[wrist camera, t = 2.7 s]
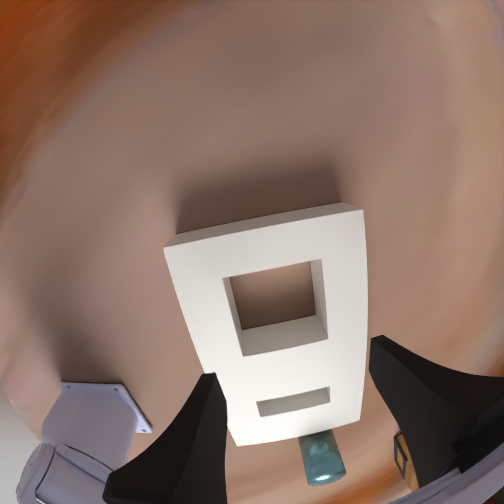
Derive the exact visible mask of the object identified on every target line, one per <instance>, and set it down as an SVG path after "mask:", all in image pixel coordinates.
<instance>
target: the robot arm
mask: <svg viewBox="0 0 504 504" xmlns="http://www.w3.org/2000/svg"><path fill="white" fill-rule="evenodd" d="M369 372H370V374H371V377H372V379H373V381H374V384H375V386H376V388H377V390H378V391H379V393H380V395H381V396H382V398H383V400H384V401H385V403H386V404H387V406H388V408H389V409H390V411H391V413H392V414H393V416H394V418H395V420H396V421H397V423H398V425H399V428H400V430H401V432H402V435H403V437H404V440H405V442H406V445H407V448H408V451H409V453H410V456H411V460H412V463H413V466H414V470H415V473H416V477H417V482H418V486H419V489H418V490H416V491H414V492H412V493H410V494H408V495H406V496H403V497H401V498H399V499H397V500H394V501H392V502H389V503H387V504H482V503H484V502H485V501H486V500H487V499H489V498H490V497H491V496H492V495H494V494H495V493H496V492H497V491H498V490H500V489H501V488H502V487H503V486H504V377H488V376H480V375H473V374H468V373H464V372H460V371H456V370H452V369H449V368H447V367H444V366H441V365H438V364H436V363H433V362H431V361H429V360H427V359H425V358H423V357H421V356H419V355H417V354H415V353H413V352H411V351H409V350H408V349H406V348H404V347H402V346H401V345H399V344H397V343H396V342H394V341H392V340H391V339H389V338H387V337H385V336H384V335H380V336H377V337H374V338H371V346H370V360H369ZM60 387H61V388H62V390H63V391H62V393H61V394H60V396H59V397H58V399H57V400H56V402H55V404H54V405H53V407H52V409H51V410H50V412H49V413H48V415H47V417H46V418H45V420H44V422H43V425H42V440H43V443H42V444H39V445H38V446H37V447H36V449H35V450H34V451H33V453H32V454H31V456H30V458H29V459H28V461H27V463H26V465H25V467H24V469H23V472H22V475H21V478H20V482H19V484H18V486H17V489H16V494H17V501H18V503H19V504H41V503H40V502H38V501H37V500H36V498H38V499H39V500H41V501H42V502H44V503H46V504H227V494H226V482H225V448H226V436H227V422H228V417H227V401H226V398H225V396H224V393H223V391H222V388H221V386H220V383H219V380H218V378H217V375H216V372H213V373H205V374H202V375H201V377H200V378H199V380H198V382H197V384H196V386H195V387H194V389H193V391H192V393H191V394H190V396H189V398H188V399H187V401H186V403H185V404H184V406H183V407H182V409H181V410H180V412H179V413H178V414H177V416H176V417H175V419H174V420H173V421H172V423H171V424H170V425H169V426H168V428H167V429H166V430H165V431H164V432H163V433H162V434H161V435H160V437H159V438H158V439H157V440H156V441H154V442H153V443H152V444H151V445H150V446H149V447H148V448H147V449H146V450H145V451H143V452H142V453H141V454H140V455H138V456H137V457H136V458H134V459H133V460H131V461H130V462H129V463H127V464H126V462H127V459H128V455H129V452H130V449H131V445H132V442H133V439H134V436H135V432H138V433H152V430H153V429H152V428H151V426H150V425H149V423H148V422H147V421H146V419H145V418H144V416H143V415H142V413H141V412H140V410H139V409H138V407H137V406H136V404H135V403H134V401H133V400H132V398H131V397H130V395H129V393H128V392H127V390H126V388H125V387H124V386H123V385H121V384H89V383H70V382H61V383H60ZM424 502H425V503H424Z"/></svg>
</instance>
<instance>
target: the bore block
mask: <svg viewBox="0 0 504 504" xmlns="http://www.w3.org/2000/svg"><path fill="white" fill-rule="evenodd" d="M163 250H164V253H165V257H166V260H167V264H168V267H169V271H170V274H171V277H172V281H173V284H174V287H175V290H176V293H177V297H178V300H179V303H180V306H181V309H182V312H183V315H184V318H185V321H186V324H187V326H188V329H189V332H190V335H191V338H192V341H193V343H194V346H195V349H196V351H197V354H198V357H199V359H200V362H201V364H202V367H203V370H204V372H205V373H213V372H216V375H217V378H218V380H219V383H220V386H221V388H222V391H223V393H224V396H225V398H226V401H227V417H228V422H227V426H228V428H229V430H230V432H231V434H232V436H233V439H234V441H235V443H236V445H237V446H243V445H251V444H259V443H266V442H272V441H278V440H284V439H289V438H294V437H299V436H304V435H308V434H312V433H317V432H321V431H325V430H328V429H332V428H336V427H339V426H343V425H346V424H349V423H352V422H356V421H359V419H360V412H361V404H362V396H363V387H364V376H365V363H366V347H367V319H368V284H367V256H366V239H365V226H364V215H363V209H361V208H358V207H355V206H352V205H349V204H346V203H343V202H341V203H335V204H329V205H323V206H317V207H312V208H306V209H300V210H295V211H289V212H284V213H279V214H273V215H268V216H263V217H257V218H252V219H247V220H242V221H237V222H232V223H227V224H222V225H218V226H213V227H208V228H203V229H199V230H194V231H189V232H185V233H180V234H176V235H175V236H174V237H173V238H172V239H171V240H170V241H169V242H168V243H167V244H166V245H165V246H164V248H163ZM306 261H310V266H311V274H312V283H313V292H314V301H315V311H316V315H313V316H309V317H305V318H300V319H296V320H291V321H286V322H281V323H276V324H271V325H266V326H261V327H256V328H250V329H245V330H242V328H241V324H240V320H239V316H238V312H237V308H236V304H235V300H234V296H233V292H232V288H231V284H230V279H229V277H231V276H236V275H242V274H247V273H252V272H257V271H262V270H267V269H272V268H277V267H282V266H287V265H292V264H297V263H302V262H306Z"/></svg>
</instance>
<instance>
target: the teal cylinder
mask: <svg viewBox="0 0 504 504" xmlns="http://www.w3.org/2000/svg"><path fill="white" fill-rule="evenodd" d="M298 440H299V445H300V449H301V454H302V459H303V463H304V468H305V473H306V477H307V482H308V484H309V485H312V486H320V485H326V484H329V483H332V482H335V481H337V480H339V479H341V478H342V477H343V476H344V475H345V474H346V470H345V467H344V464H343V461H342V458H341V455H340V452H339V449H338V446H337V443H336V440H335V437H334V434H333V431H332V429H328V430H325V431H321V432H317V433H312V434H308V435H304V436H299V437H298Z"/></svg>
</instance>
